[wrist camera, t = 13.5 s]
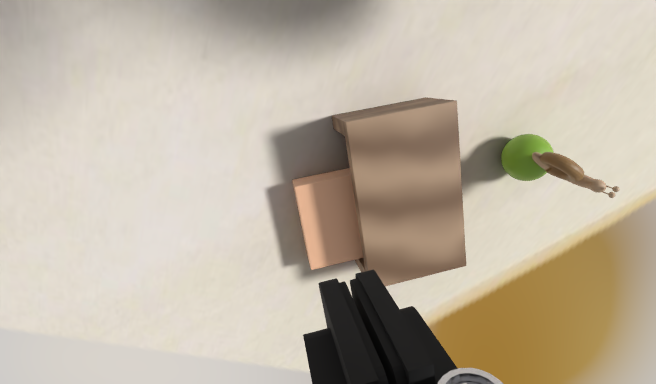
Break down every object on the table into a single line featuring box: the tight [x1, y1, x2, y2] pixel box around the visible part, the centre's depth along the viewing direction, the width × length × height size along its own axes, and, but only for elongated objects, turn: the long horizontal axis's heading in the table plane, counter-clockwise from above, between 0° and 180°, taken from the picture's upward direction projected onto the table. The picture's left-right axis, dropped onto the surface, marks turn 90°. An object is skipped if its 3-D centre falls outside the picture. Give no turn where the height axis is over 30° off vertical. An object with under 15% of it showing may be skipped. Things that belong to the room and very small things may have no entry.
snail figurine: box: [501, 134, 619, 198], centre depth 41 cm, size 5×6×12 cm
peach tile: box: [292, 168, 363, 270], centre depth 44 cm, size 10×14×4 cm
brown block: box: [332, 98, 466, 286], centre depth 42 cm, size 18×11×7 cm, turn 9°
